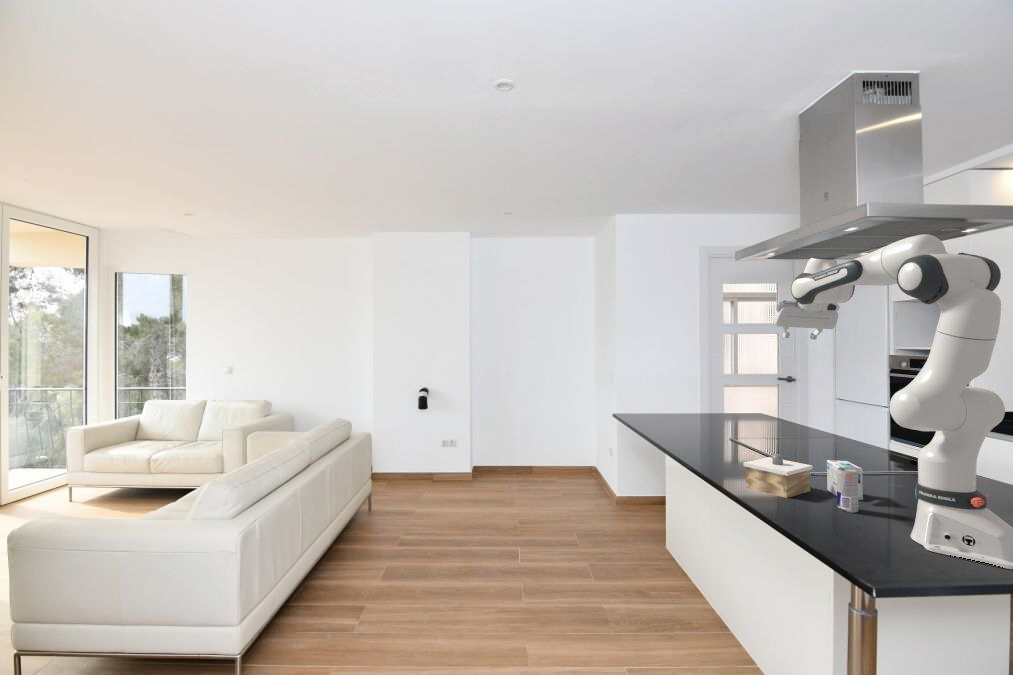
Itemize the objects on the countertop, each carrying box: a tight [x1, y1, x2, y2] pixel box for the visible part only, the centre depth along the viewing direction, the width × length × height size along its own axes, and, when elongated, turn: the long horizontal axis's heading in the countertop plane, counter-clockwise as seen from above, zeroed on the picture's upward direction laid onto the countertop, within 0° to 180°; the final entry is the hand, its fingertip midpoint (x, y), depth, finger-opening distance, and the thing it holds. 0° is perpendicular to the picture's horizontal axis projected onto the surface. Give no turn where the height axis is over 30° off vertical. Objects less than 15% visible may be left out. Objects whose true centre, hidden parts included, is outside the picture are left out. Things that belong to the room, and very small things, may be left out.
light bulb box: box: [826, 459, 864, 501], centre depth 169 cm, size 11×7×11 cm, turn 168°
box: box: [745, 467, 812, 499], centre depth 175 cm, size 14×14×8 cm
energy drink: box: [836, 468, 859, 514], centre depth 156 cm, size 5×5×12 cm
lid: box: [743, 453, 814, 476], centre depth 175 cm, size 15×15×5 cm
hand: (799, 338), depth 186 cm, fingers open, 8 cm apart
